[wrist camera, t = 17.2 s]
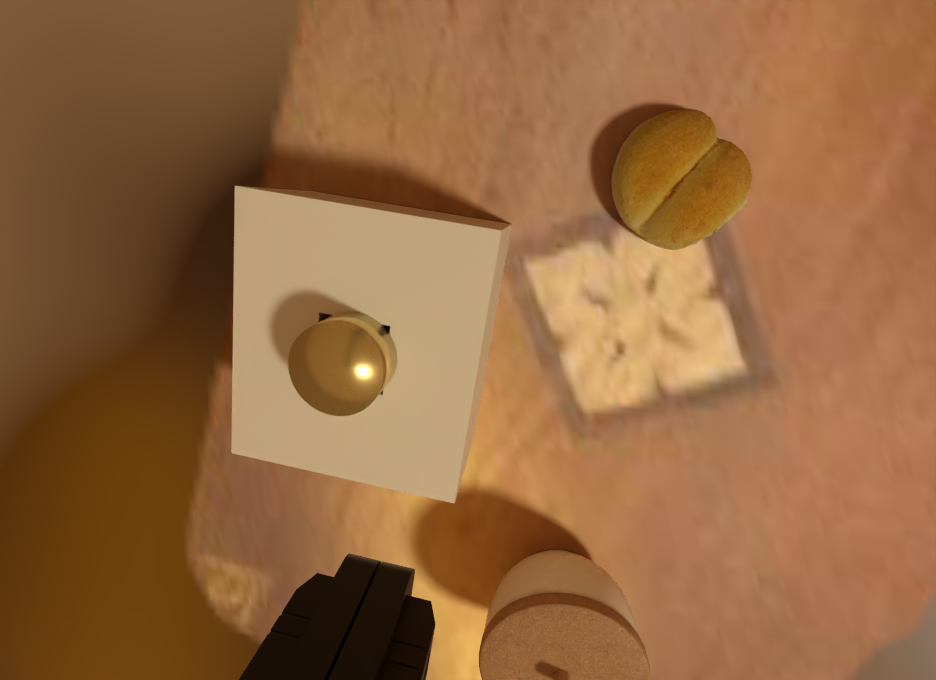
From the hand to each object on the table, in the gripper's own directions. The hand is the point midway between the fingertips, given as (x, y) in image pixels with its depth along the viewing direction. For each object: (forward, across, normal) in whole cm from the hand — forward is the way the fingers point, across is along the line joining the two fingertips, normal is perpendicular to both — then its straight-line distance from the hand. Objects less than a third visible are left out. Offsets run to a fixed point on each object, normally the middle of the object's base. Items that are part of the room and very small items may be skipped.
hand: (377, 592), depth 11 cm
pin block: (+29, +8, +2) cm, 30 cm away
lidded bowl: (+29, -10, +24) cm, 39 cm away
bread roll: (+30, -11, -12) cm, 34 cm away
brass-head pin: (+28, +8, +2) cm, 29 cm away
